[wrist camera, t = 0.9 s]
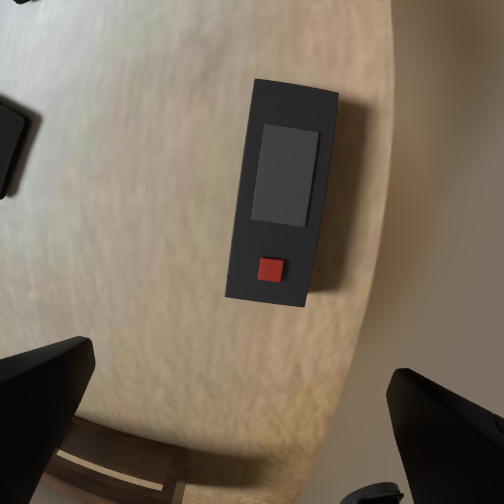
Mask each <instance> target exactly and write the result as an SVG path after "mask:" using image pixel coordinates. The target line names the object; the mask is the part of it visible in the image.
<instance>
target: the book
mask: <svg viewBox="0 0 504 504" xmlns="http://www.w3.org/2000/svg"><path fill="white" fill-rule="evenodd" d="M14 1H15V2H16V3H17V4H24V3H26V2H28V1H30V0H14Z"/></svg>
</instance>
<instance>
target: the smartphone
mask: <svg viewBox="0 0 504 504" xmlns="http://www.w3.org/2000/svg"><path fill="white" fill-rule="evenodd" d="M29 127H30V119H29V118H28V117H27V116H25V115H24V114H22V113H20V112H18V111H16V110H15V109H13V108H11V107H9V106H7V105H5V104H3V103H2V102H0V200H1V199H3V198H4V197H5V196H6V193H7V190H8V186H9V183H10V180H11V177H12V173H13V170H14V167H15V164H16V161H17V158H18V156H19V153H20V150H21V147H22V145H23V142H24V140H25V137H26V134H27V132H28V129H29Z"/></svg>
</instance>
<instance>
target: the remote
mask: <svg viewBox="0 0 504 504" xmlns="http://www.w3.org/2000/svg"><path fill="white" fill-rule="evenodd" d="M338 96H339V93H337V92H332V91H328V90H323V89H318V88H313V87H308V86H302V85H296V84H291V83H284V82H278V81H271V80H263V79H255V80H254V86H253V93H252V99H251V106H250V112H249V119H248V126H247V133H246V139H245V146H244V153H243V160H242V167H241V175H240V182H239V189H238V197H237V204H236V212H235V219H234V227H233V235H232V242H231V250H230V258H229V266H228V275H227V283H226V291H225V297H229V298H235V299H242V300H250V301H257V302H264V303H272V304H280V305H288V306H296V307H305V302H306V297H307V293H308V288H309V283H310V278H311V273H312V268H313V263H314V258H315V252H316V247H317V241H318V236H319V230H320V225H321V219H322V213H323V207H324V201H325V194H326V188H327V182H328V175H329V168H330V161H331V154H332V146H333V139H334V131H335V123H336V114H337V105H338Z"/></svg>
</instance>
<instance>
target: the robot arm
mask: <svg viewBox="0 0 504 504" xmlns="http://www.w3.org/2000/svg"><path fill="white" fill-rule="evenodd" d="M94 369H95V356H94V350H93V344H92V341H91V340H90V339H89V338H86V337H82V336H77V337H73V338H70V339H67V340H64V341H60V342H57V343H54V344H51V345H47V346H44V347H41V348H37V349H34V350H31V351H27V352H24V353H20V354H17V355H14V356H10V357H7V358H3V359H0V504H29V503H30V500H31V498H32V496H33V494H34V492H35V489H36V487H37V485H38V483H39V481H40V479H41V477H42V475H43V473H44V471H45V469H46V467H47V465H48V463H49V461H50V459H51V457H52V455H53V453H54V451H55V449H56V447H57V445H58V443H59V441H60V440H61V438H62V436H63V434H64V432H65V430H66V428H67V426H68V425H69V423H70V421H71V419H72V417H73V415H74V414H75V412H76V410H77V408H78V406H79V404H80V402H81V400H82V397H83V395H84V392H85V390H86V388H87V385H88V383H89V381H90V378H91V376H92V374H93V371H94ZM386 398H387V403H388V407H389V412H390V417H391V422H392V427H393V431H394V436H395V440H396V443H397V446H398V450H399V453H400V456H401V459H402V462H403V466H404V469H405V472H406V476H407V480H408V483H409V487H410V490H411V494H412V498H413V501H414V504H504V418H502V417H500V416H498V415H496V414H493V413H492V412H490V411H488V410H486V409H484V408H482V407H480V406H479V405H476V404H475V403H473V402H471V401H469V400H467V399H465V398H463V397H461V396H459V395H458V394H456V393H454V392H452V391H450V390H448V389H446V388H444V387H442V386H441V385H439V384H437V383H435V382H433V381H431V380H429V379H427V378H425V377H424V376H422V375H420V374H418V373H416V372H415V371H413V370H411V369H409V368H400V369H396V370H395V371H394V373H393V376H392V378H391V381H390V384H389V386H388V389H387V393H386ZM403 497H404V494H403V493H400V494H395V495H389V496H383V497H377V498H370V499H362V500H359V501H357V503H356V504H399V501H400V500H401V499H402V498H403Z"/></svg>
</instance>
